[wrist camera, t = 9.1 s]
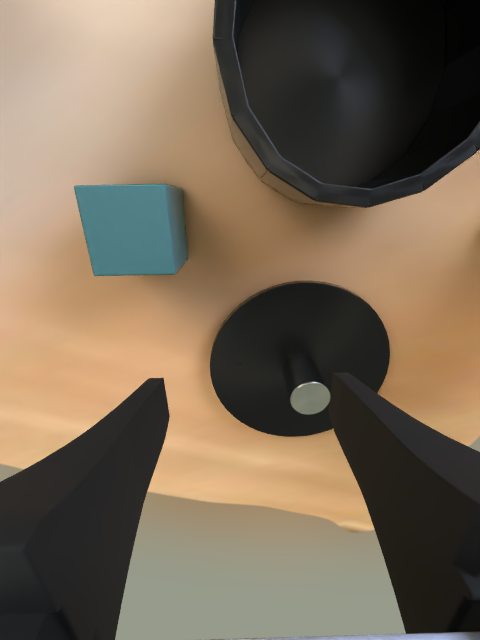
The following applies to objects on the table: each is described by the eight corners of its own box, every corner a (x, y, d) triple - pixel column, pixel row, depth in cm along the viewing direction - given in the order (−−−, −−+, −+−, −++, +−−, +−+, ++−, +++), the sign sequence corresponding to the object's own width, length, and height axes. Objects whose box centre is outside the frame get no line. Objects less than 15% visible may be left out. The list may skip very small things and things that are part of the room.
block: (182, 188, 17) (165, 183, 13) (188, 259, 19) (175, 274, 15) (111, 189, 17) (72, 185, 13) (123, 260, 19) (93, 276, 15)
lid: (419, 324, 21) (465, 355, 17) (323, 446, 26) (340, 494, 22) (259, 245, 19) (266, 257, 14) (185, 395, 23) (174, 437, 19)
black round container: (508, 21, 14) (651, -75, 9) (356, 241, 19) (399, 255, 14) (306, -171, 12) (356, -437, 7) (183, 132, 16) (160, 102, 11)
